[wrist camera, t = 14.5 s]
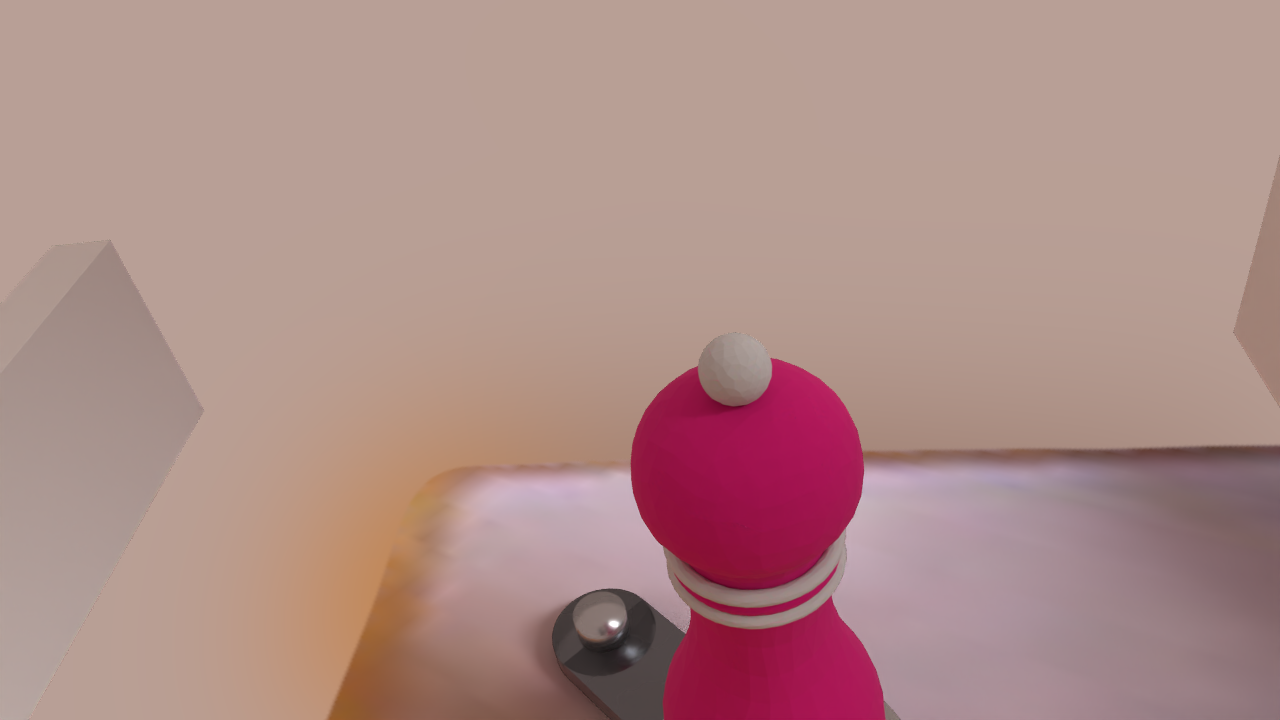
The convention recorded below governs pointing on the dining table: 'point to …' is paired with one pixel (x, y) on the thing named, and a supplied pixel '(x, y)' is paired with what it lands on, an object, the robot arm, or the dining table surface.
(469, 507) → the dining table surface
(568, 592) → the dining table surface
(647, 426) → the pepper mill
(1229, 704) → the dining table surface
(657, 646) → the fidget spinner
